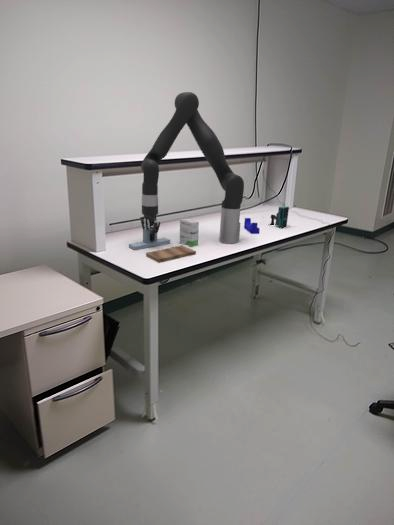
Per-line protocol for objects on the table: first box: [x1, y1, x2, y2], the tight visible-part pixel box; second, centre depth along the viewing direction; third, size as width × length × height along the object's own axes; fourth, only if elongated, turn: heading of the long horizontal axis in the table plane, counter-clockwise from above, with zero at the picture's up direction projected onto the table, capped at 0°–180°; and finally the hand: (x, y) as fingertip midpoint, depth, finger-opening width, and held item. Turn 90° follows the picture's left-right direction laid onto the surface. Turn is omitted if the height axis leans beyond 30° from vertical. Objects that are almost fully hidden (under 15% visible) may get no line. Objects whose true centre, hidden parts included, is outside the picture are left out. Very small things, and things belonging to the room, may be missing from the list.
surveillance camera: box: [267, 206, 290, 229], centre depth 233 cm, size 6×12×10 cm
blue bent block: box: [243, 217, 260, 235], centre depth 222 cm, size 12×4×6 cm, turn 13°
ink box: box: [179, 218, 200, 248], centre depth 193 cm, size 9×5×12 cm, turn 46°
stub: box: [128, 229, 171, 251], centre depth 189 cm, size 20×5×8 cm, turn 130°
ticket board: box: [145, 244, 197, 264], centre depth 177 cm, size 20×10×2 cm, turn 130°
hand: (150, 240), depth 189 cm, fingers closed on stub, 3 cm apart
